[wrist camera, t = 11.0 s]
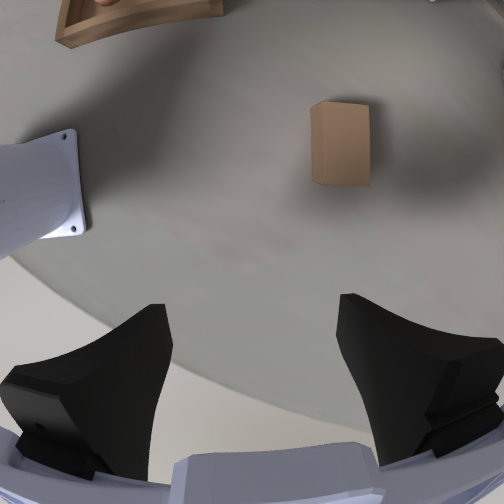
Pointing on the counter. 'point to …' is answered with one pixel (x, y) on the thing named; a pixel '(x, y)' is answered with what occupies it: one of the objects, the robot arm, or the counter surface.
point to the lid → (340, 144)
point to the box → (124, 17)
